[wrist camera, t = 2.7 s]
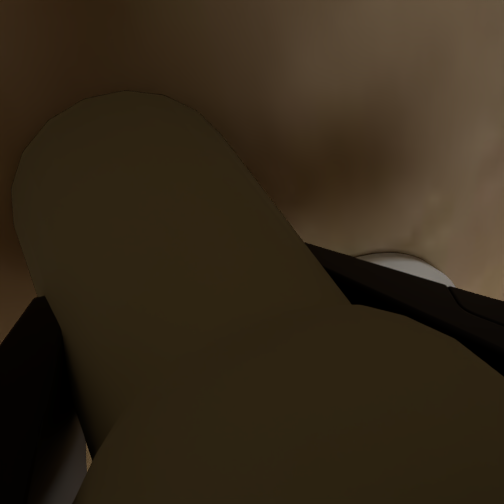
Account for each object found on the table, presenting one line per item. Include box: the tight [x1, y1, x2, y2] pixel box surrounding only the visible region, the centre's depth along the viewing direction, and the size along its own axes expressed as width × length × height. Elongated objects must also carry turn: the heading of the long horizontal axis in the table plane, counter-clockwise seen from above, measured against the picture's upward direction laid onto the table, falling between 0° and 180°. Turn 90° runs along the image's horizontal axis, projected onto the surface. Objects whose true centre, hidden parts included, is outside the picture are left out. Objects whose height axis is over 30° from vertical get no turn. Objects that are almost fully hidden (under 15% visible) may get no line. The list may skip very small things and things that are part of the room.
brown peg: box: [11, 91, 504, 504], centre depth 8 cm, size 6×6×11 cm
